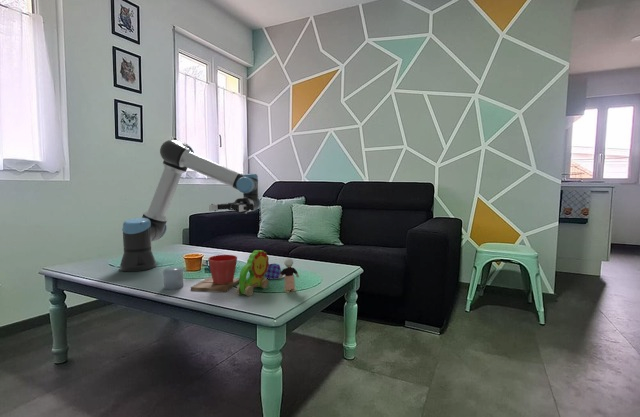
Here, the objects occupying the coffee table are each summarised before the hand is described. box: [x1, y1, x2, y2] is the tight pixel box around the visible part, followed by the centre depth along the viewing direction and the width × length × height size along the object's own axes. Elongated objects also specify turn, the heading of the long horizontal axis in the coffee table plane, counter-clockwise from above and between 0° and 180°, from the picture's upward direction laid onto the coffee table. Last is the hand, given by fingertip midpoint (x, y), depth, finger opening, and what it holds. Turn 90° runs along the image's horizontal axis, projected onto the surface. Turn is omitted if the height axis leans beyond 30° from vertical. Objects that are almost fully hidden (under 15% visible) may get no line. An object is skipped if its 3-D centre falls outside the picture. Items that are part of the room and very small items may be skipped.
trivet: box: [190, 276, 239, 293], centre depth 131 cm, size 14×14×1 cm
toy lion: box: [236, 249, 270, 297], centre depth 125 cm, size 16×6×15 cm, turn 155°
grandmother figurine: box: [279, 257, 300, 294], centre depth 124 cm, size 8×4×13 cm, turn 123°
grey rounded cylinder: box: [162, 266, 184, 291], centre depth 129 cm, size 7×7×7 cm
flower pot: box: [207, 254, 238, 284], centre depth 132 cm, size 11×11×10 cm
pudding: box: [265, 263, 285, 280], centre depth 145 cm, size 12×12×5 cm
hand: (224, 208), depth 142 cm, fingers open, 13 cm apart
